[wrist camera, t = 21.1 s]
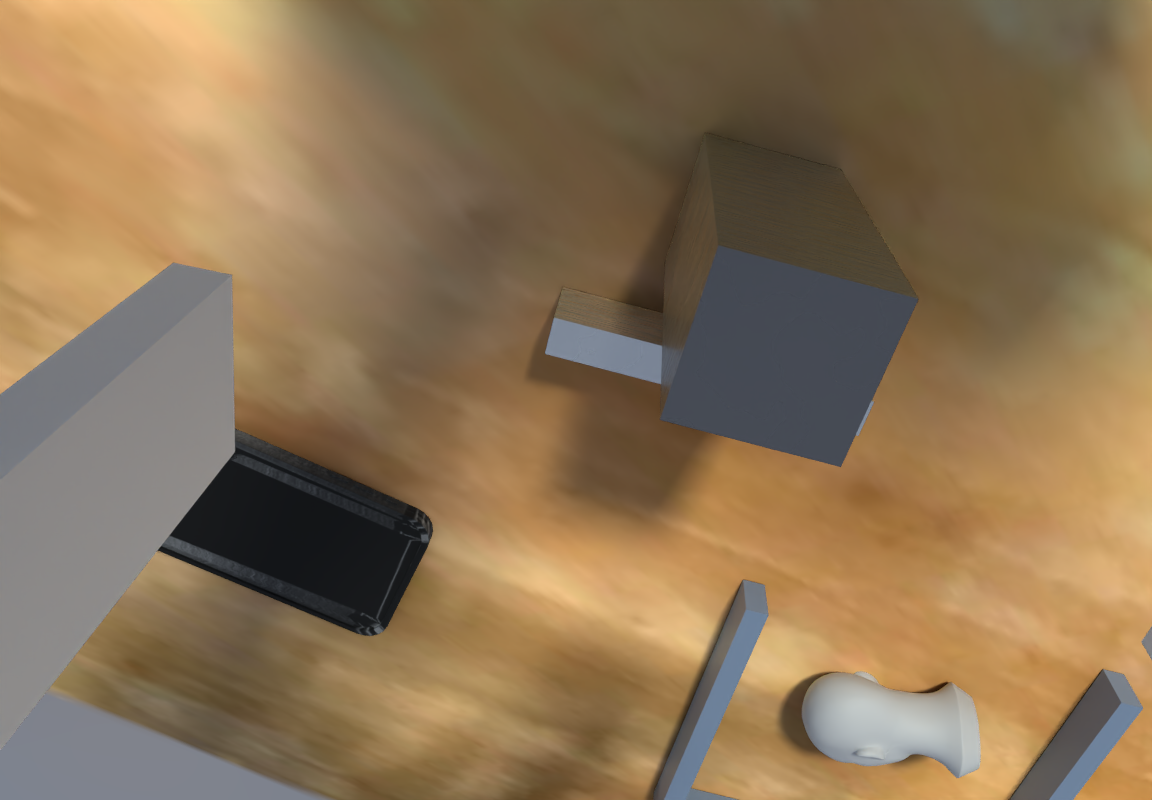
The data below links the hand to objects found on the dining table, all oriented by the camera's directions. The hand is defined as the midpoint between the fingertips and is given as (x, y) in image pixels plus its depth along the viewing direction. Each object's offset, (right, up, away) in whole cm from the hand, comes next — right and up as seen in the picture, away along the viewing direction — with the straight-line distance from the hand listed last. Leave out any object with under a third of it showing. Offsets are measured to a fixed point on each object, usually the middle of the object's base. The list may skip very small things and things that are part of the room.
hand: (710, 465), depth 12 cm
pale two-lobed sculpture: (+13, -13, +32) cm, 37 cm away
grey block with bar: (+4, +6, +23) cm, 24 cm away
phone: (-16, -4, +31) cm, 35 cm away
